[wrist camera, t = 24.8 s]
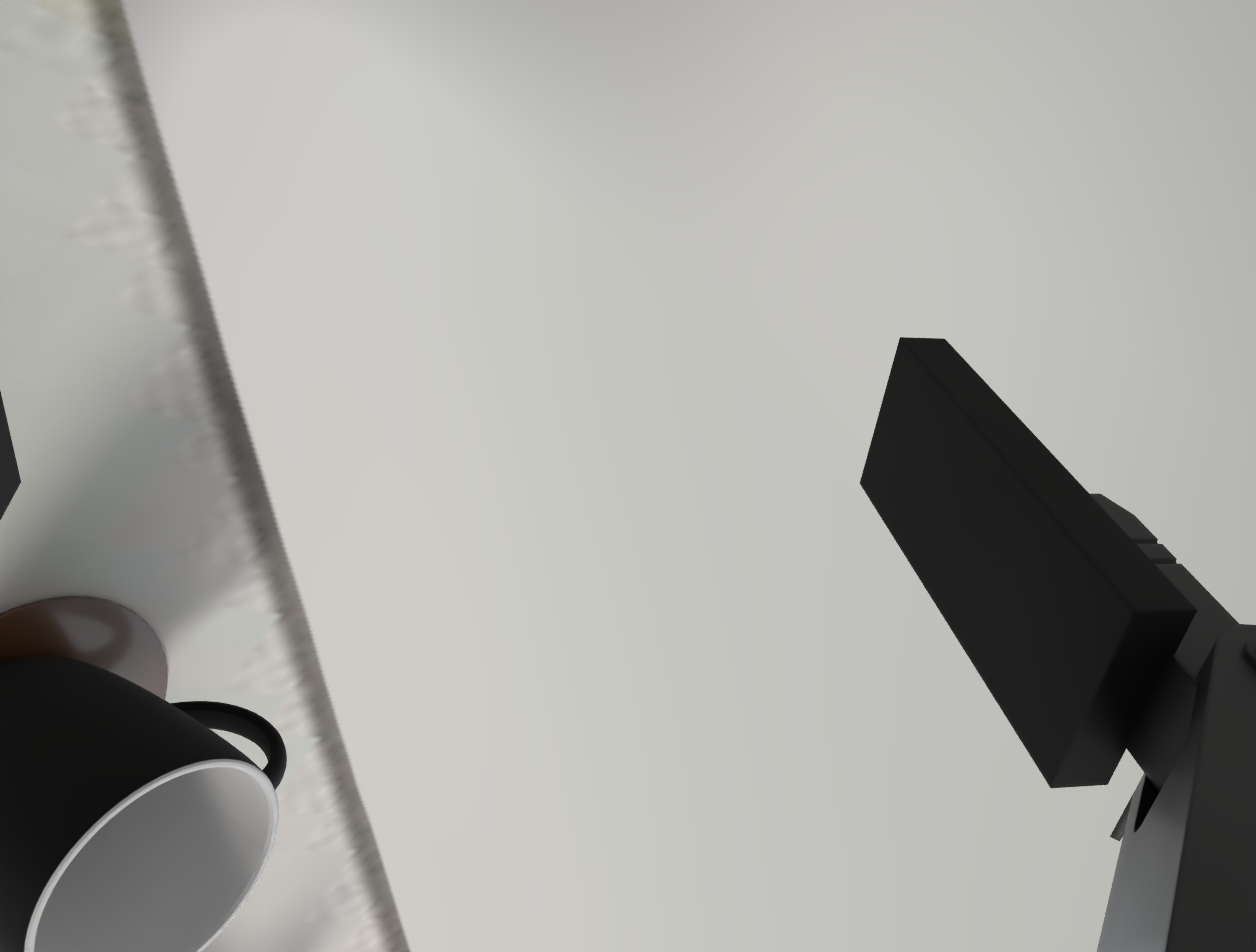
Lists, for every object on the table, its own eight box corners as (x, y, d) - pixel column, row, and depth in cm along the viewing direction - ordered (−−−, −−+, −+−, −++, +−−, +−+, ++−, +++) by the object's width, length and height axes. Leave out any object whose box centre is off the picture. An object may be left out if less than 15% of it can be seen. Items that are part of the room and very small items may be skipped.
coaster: (3, 555, 37) (6, 557, 37) (212, 644, 46) (215, 646, 46) (-211, 840, 35) (-208, 843, 35) (54, 874, 44) (57, 876, 44)
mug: (-126, 884, 38) (20, 1068, 33) (-135, 666, 35) (25, 833, 30) (183, 755, 47) (333, 882, 42) (198, 576, 44) (362, 691, 39)
